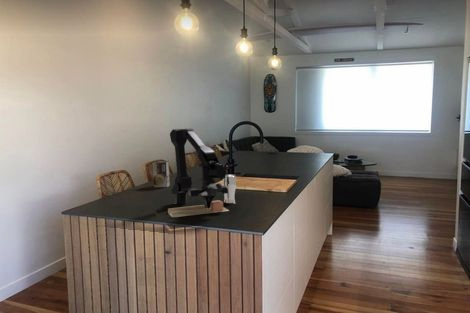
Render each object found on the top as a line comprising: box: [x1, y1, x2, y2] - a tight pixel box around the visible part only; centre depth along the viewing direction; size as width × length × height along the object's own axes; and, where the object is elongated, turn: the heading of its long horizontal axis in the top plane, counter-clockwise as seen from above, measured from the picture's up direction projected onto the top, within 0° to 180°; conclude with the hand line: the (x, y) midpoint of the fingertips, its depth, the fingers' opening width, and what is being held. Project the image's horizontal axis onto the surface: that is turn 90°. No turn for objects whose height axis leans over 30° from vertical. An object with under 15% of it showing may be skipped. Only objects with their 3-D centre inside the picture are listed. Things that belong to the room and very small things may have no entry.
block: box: [210, 199, 224, 213], centre depth 189 cm, size 5×5×4 cm
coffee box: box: [152, 160, 170, 188], centre depth 252 cm, size 9×6×16 cm
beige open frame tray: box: [167, 204, 230, 218], centre depth 186 cm, size 8×28×3 cm, turn 113°
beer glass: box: [222, 174, 237, 204], centre depth 205 cm, size 7×7×15 cm
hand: (208, 208), depth 188 cm, fingers closed
